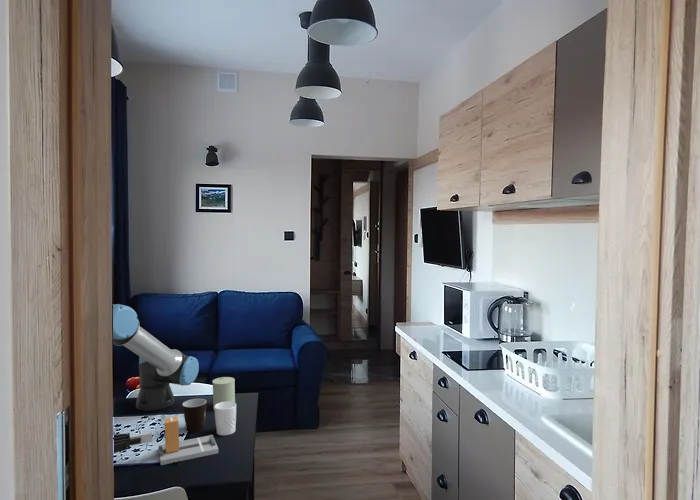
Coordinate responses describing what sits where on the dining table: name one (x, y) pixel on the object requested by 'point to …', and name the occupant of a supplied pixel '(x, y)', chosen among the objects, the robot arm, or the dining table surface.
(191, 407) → the coffee mug
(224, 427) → the white cup
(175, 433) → the fader tab
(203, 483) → the dining table surface
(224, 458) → the dining table surface
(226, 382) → the can
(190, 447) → the rail
